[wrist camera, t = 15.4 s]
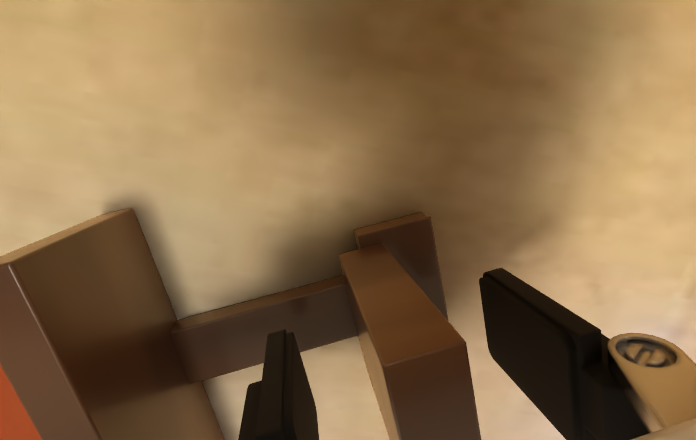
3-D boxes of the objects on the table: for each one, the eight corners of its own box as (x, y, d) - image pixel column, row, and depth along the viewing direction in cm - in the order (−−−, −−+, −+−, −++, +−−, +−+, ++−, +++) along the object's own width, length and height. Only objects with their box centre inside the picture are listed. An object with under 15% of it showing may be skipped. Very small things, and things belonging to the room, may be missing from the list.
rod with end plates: (100, 215, 13) (-176, 327, 5) (409, 140, 14) (549, 144, 6) (205, 464, 16) (126, 764, 8) (452, 387, 17) (582, 589, 10)
